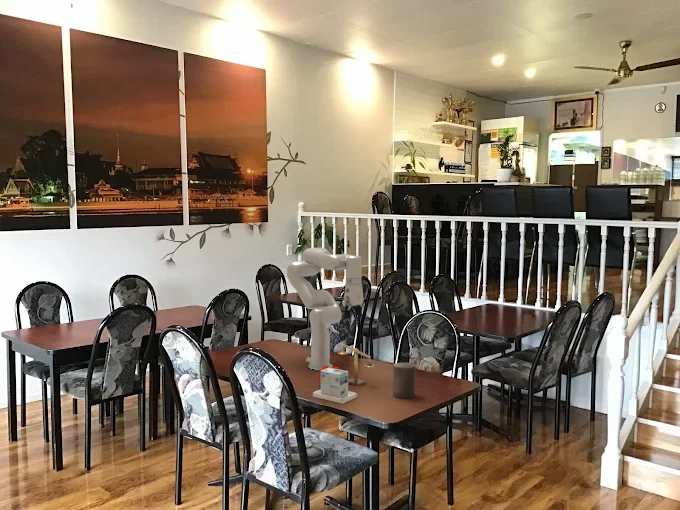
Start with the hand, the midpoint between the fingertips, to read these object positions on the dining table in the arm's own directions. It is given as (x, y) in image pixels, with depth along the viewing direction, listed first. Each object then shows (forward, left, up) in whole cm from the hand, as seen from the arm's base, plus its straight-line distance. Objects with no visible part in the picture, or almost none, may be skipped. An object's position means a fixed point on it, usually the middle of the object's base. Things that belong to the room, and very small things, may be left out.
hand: (353, 316), depth 287 cm
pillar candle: (+33, -8, -31) cm, 46 cm away
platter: (+10, -28, -30) cm, 43 cm away
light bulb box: (+10, -29, -30) cm, 42 cm away
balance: (+6, -6, -30) cm, 31 cm away
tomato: (-1, -16, -31) cm, 35 cm away
